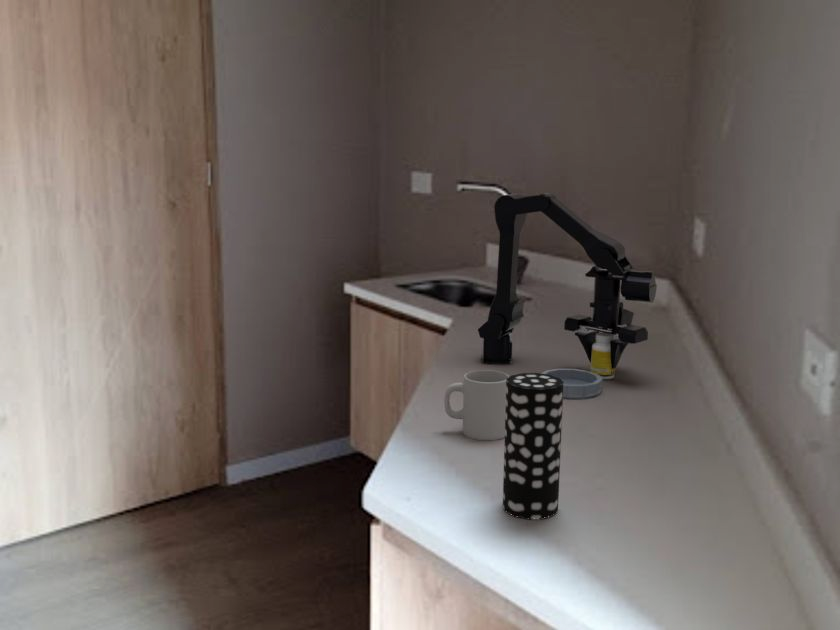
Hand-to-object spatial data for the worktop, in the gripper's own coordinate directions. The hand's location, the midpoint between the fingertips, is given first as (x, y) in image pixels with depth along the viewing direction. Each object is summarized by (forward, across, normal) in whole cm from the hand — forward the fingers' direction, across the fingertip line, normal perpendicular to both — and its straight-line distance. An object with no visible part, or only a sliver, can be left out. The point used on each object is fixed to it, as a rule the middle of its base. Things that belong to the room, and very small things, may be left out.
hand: (603, 365), depth 207 cm
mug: (+3, -4, +48) cm, 48 cm away
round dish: (+2, -1, +13) cm, 14 cm away
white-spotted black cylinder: (+3, -32, +67) cm, 74 cm away
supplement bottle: (+3, 0, 0) cm, 3 cm away
